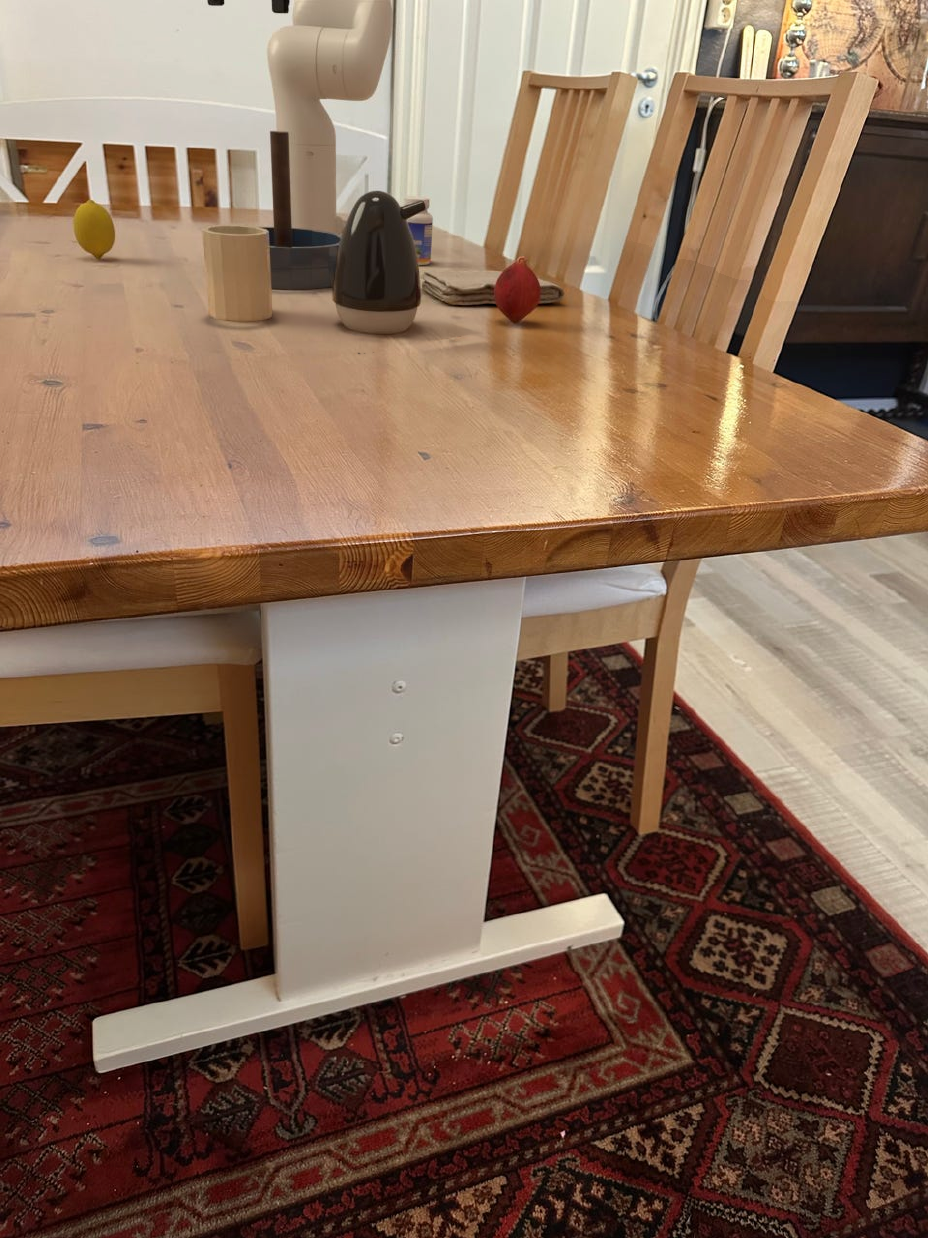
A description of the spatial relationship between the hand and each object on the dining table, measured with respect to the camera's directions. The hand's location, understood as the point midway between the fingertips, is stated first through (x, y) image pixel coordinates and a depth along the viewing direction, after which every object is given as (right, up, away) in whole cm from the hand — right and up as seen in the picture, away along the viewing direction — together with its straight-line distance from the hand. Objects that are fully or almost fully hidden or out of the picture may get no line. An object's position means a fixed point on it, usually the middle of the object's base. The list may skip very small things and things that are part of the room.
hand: (249, 9), depth 119 cm
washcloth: (+32, -35, +9) cm, 48 cm away
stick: (+3, -33, +8) cm, 34 cm away
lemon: (-25, -28, +14) cm, 40 cm away
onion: (+35, -43, -4) cm, 56 cm away
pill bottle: (+20, -23, +28) cm, 41 cm away
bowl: (+3, -33, +8) cm, 34 cm away
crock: (+2, -45, -12) cm, 47 cm away
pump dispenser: (+18, -47, -13) cm, 52 cm away
